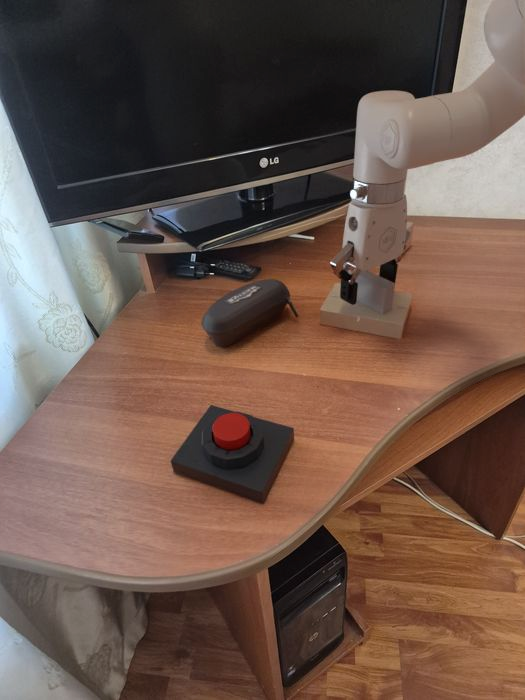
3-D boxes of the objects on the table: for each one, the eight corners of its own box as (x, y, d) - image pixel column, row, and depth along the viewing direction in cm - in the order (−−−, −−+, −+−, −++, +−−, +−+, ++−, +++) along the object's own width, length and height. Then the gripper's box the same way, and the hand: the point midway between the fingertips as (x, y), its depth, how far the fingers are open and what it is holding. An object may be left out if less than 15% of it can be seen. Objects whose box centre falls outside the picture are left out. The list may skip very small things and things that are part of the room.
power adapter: (392, 266, 92) (396, 240, 88) (371, 261, 94) (373, 235, 90) (413, 247, 98) (417, 221, 95) (393, 242, 101) (396, 217, 97)
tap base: (412, 303, 80) (414, 288, 78) (399, 345, 71) (401, 329, 69) (337, 292, 85) (338, 277, 83) (316, 329, 76) (316, 313, 74)
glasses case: (261, 291, 85) (269, 261, 79) (299, 326, 81) (311, 297, 75) (186, 332, 75) (190, 301, 69) (226, 373, 72) (233, 344, 66)
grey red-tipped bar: (391, 309, 73) (395, 282, 70) (382, 314, 72) (386, 286, 69) (352, 289, 79) (354, 263, 76) (343, 293, 78) (345, 267, 75)
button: (256, 428, 54) (255, 418, 52) (240, 455, 50) (239, 445, 49) (224, 418, 55) (223, 409, 54) (207, 444, 52) (205, 434, 51)
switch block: (294, 439, 56) (293, 418, 54) (263, 503, 49) (261, 482, 47) (212, 415, 61) (208, 394, 58) (173, 472, 54) (167, 450, 51)
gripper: (354, 211, 58) (347, 319, 68) (437, 181, 66) (418, 282, 76) (316, 197, 63) (315, 300, 73) (397, 171, 70) (385, 267, 81)
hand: (367, 291), depth 75 cm, fingers open, 9 cm apart
